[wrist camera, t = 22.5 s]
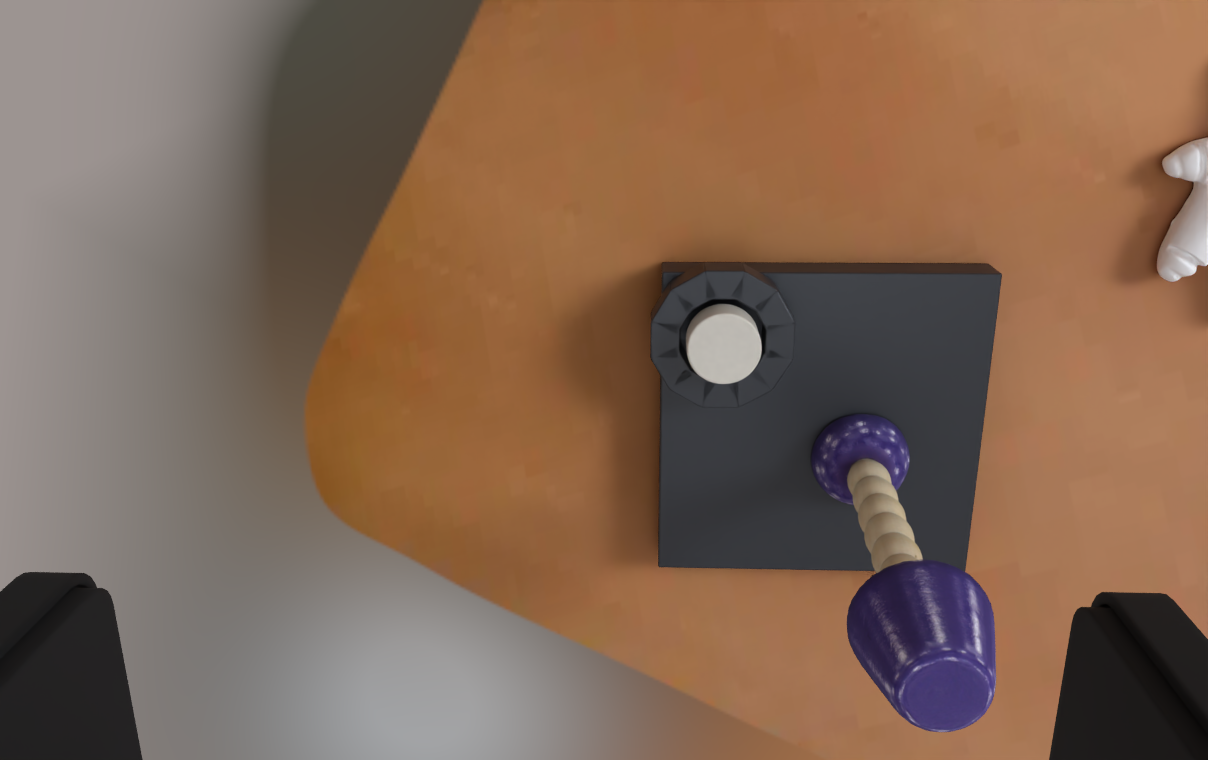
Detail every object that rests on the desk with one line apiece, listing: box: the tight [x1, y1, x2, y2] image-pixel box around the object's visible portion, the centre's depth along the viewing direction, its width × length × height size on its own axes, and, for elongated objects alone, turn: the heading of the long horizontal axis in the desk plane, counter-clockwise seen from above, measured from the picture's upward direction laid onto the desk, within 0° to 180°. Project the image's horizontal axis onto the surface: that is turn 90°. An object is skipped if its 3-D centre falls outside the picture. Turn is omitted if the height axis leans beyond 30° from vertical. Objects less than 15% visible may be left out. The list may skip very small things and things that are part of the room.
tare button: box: [686, 304, 762, 384], centre depth 43 cm, size 3×3×2 cm
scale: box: [650, 262, 1002, 572], centre depth 46 cm, size 14×14×4 cm
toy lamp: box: [811, 414, 996, 732], centre depth 38 cm, size 5×5×17 cm
